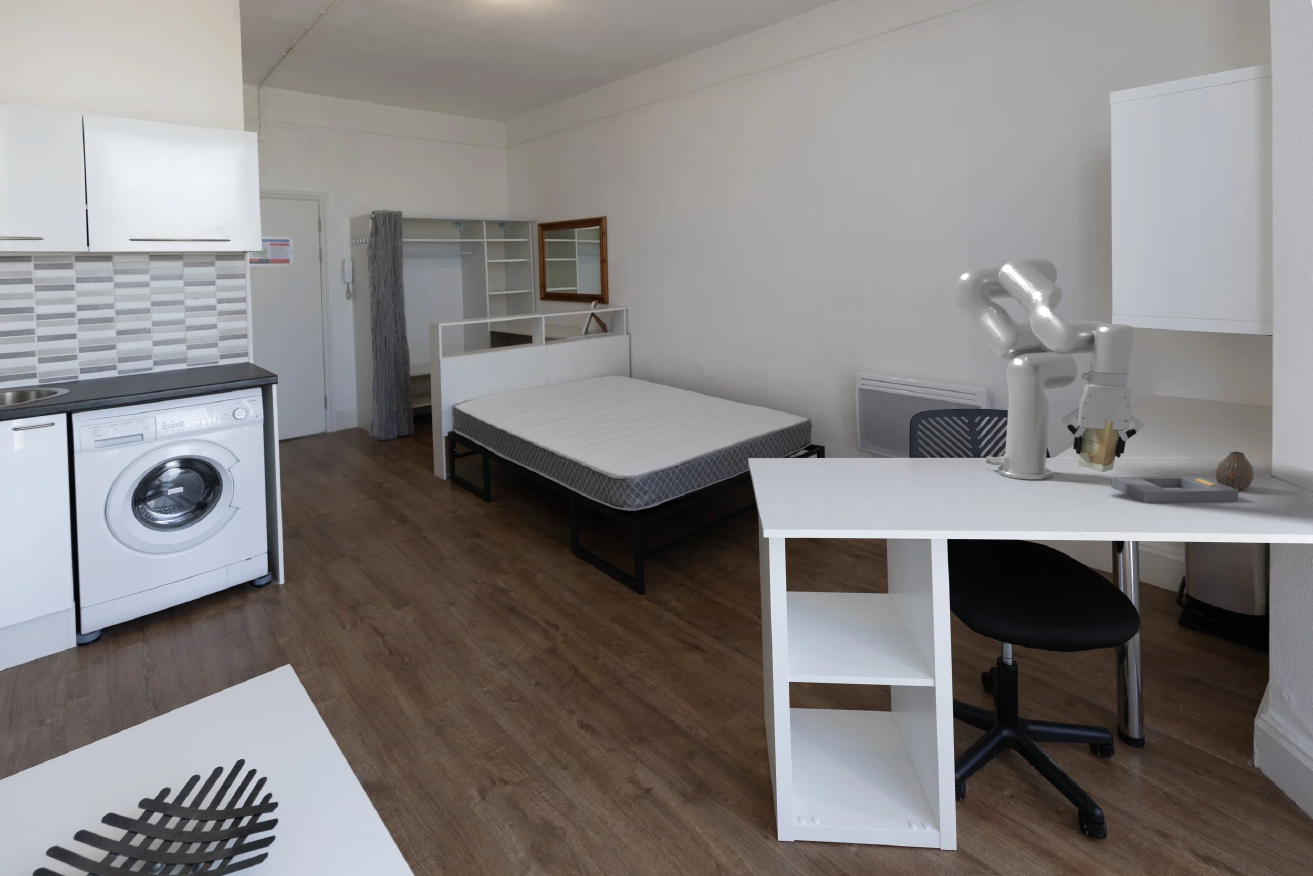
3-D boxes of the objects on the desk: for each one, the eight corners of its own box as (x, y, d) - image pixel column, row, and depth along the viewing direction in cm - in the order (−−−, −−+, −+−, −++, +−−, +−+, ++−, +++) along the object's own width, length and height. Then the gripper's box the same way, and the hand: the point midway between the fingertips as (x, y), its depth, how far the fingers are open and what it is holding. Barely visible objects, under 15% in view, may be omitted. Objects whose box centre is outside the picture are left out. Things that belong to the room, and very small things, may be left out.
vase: (1221, 491, 166) (1225, 455, 165) (1209, 484, 173) (1213, 448, 171) (1256, 493, 164) (1262, 456, 162) (1243, 485, 170) (1248, 450, 169)
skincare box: (1076, 466, 168) (1083, 415, 165) (1087, 463, 170) (1094, 413, 167) (1103, 472, 163) (1111, 421, 160) (1115, 470, 165) (1122, 418, 162)
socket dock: (1145, 503, 160) (1147, 491, 159) (1111, 487, 173) (1112, 476, 172) (1237, 501, 159) (1239, 489, 159) (1196, 485, 172) (1197, 474, 171)
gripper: (1065, 379, 162) (1056, 454, 166) (1157, 384, 154) (1144, 462, 159) (1063, 374, 168) (1054, 447, 173) (1150, 378, 161) (1139, 454, 165)
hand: (1097, 453), depth 166 cm, fingers closed on skincare box, 7 cm apart
